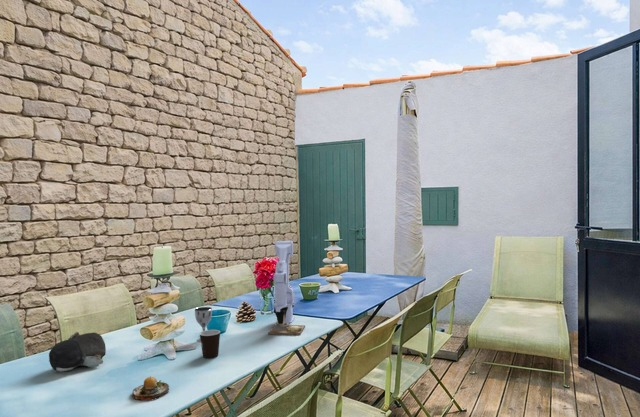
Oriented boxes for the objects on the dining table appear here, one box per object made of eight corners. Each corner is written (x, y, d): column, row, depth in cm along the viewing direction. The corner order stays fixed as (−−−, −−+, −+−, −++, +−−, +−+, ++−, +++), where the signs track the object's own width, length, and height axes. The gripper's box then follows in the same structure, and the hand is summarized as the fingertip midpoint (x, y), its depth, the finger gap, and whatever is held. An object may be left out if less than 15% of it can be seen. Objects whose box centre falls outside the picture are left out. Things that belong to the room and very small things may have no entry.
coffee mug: (218, 359, 183) (217, 335, 183) (197, 359, 183) (196, 335, 183) (224, 350, 195) (224, 327, 194) (205, 350, 195) (204, 328, 195)
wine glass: (214, 337, 214) (214, 306, 214) (209, 342, 206) (208, 310, 206) (199, 337, 215) (198, 306, 215) (192, 342, 207) (192, 310, 207)
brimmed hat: (173, 386, 157) (172, 365, 157) (162, 400, 145) (162, 378, 145) (139, 387, 157) (139, 366, 157) (126, 402, 145) (125, 379, 145)
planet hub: (278, 325, 225) (277, 312, 225) (286, 325, 225) (285, 311, 225) (276, 327, 221) (275, 314, 221) (284, 327, 221) (283, 313, 221)
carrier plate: (275, 326, 230) (275, 321, 230) (305, 327, 227) (304, 321, 227) (268, 334, 216) (268, 328, 216) (299, 335, 214) (299, 329, 214)
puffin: (109, 373, 184) (119, 346, 182) (61, 390, 165) (72, 360, 163) (81, 348, 192) (91, 321, 190) (33, 361, 173) (43, 332, 171)
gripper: (276, 293, 231) (277, 318, 231) (269, 299, 216) (270, 326, 217) (289, 293, 230) (290, 318, 230) (283, 299, 215) (284, 326, 216)
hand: (281, 322), depth 223 cm, fingers closed on planet hub, 4 cm apart
